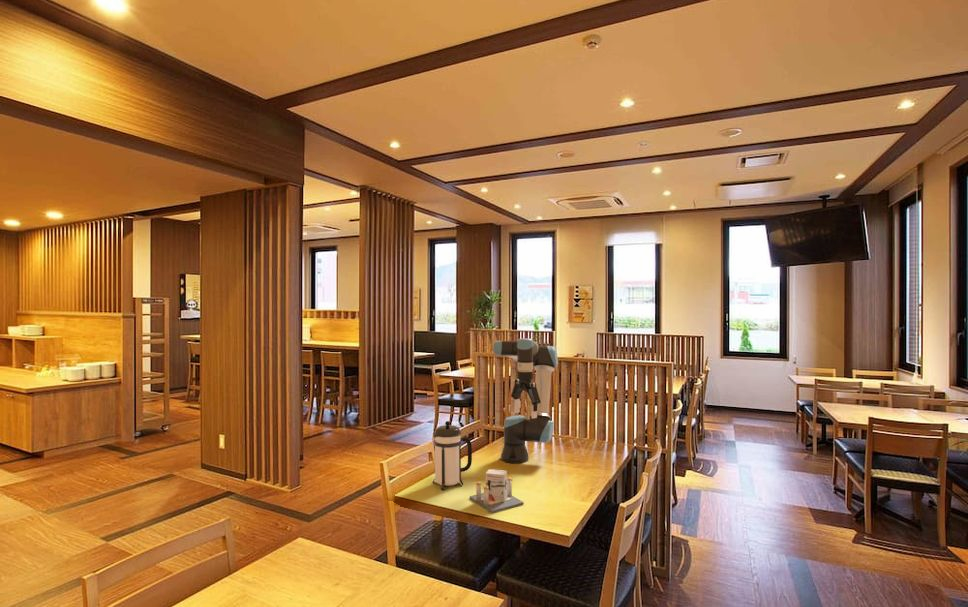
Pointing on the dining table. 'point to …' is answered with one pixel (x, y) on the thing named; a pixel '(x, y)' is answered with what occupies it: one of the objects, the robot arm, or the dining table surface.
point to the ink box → (497, 484)
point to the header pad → (495, 505)
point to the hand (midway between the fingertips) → (525, 415)
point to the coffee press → (449, 455)
